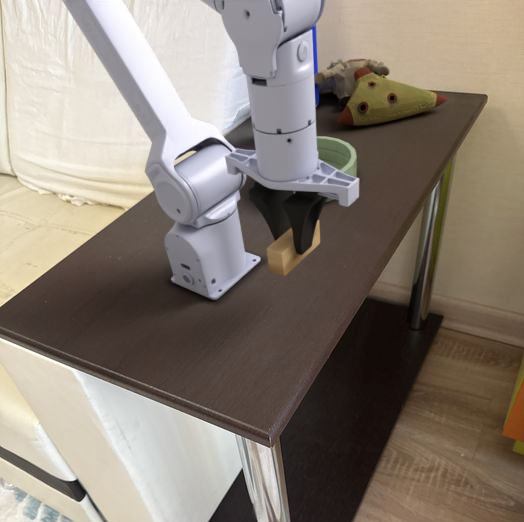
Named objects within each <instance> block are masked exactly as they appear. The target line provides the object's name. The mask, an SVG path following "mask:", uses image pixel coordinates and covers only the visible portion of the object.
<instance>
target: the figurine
mask: <svg viewBox="0 0 524 522" xmlns="http://www.w3.org/2000/svg"><path fill="white" fill-rule="evenodd" d="M363 67H365V68H368V69H369V70H370V71H372V72H373V73H375V74H376V75H378V76H382V75H384V76H386V77H387V76H389V75H390V71H391V70H390V68H389V67H388V66H387V65H385V62H384V61H379V62H378V60H376V59H375V60H374V59H370V58H368V59H367V58H352V59H348V60H346V61H343V60H342V59H341V58H339V59H338V60H337V61H331V62H330V65H329V66H327V67H326V69H325V70H321V71H318V73H316V74H315V76H314V81H315V83H316V84H318V87H319V94H321V93H324V92H325V91H331V92H332V94H333V95H336V97H337V98H338V99H339V100H338V107H339V108H340V109H342V110H344V109H345V107H346V105H347V103H348V101H349V100H350V98H351V96H352V94H353V92H354V89H355V78H354V73H355V71H356V70H357V69H360V68H363Z"/></svg>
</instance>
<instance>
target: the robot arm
mask: <svg viewBox="0 0 524 522" xmlns="http://www.w3.org/2000/svg"><path fill="white" fill-rule="evenodd" d="M61 1H62V3H63V4H64V6H65V7H66V9H67V11H68V12H69V14H70V15H71V17H72V19H73V20H74V22H75V24H76V25H77V26H78V28H79V30H80V31H81V33H82V35H83V36H84V37H85V40H87V43H88V44H89V45H90V47H91V49H92V50H93V52H94V53H95V55H96V57H97V58H98V60H99V61H100V63H101V64H102V66H103V67H104V69H105V71H106V72H107V75H108V76H109V77H110V78H111V79H110V80H112V82H113V83H114V85H115V87H116V88H117V90H118V91H119V93H120V94H121V96H122V97H123V100H124V101H125V102H126V104H127V106H128V108H130V110H131V112H132V114H133V115H134V116H135V119H136V120H137V121H138V123H139V125H140V126H141V128H142V129H143V131H144V133H145V134H146V136H147V137H148V139H149V141H150V143H151V145H150V149H149V152H148V156H147V160H146V163H145V168H144V174H145V175H146V178H147V179H148V180H149V182H150V184H151V186H152V188H153V191H154V195H155V198H156V201H157V202H158V204H159V206H160V208H161V209H162V211H163V212H164V213H165V214H166V216H168V217H169V218H170V219H172V220H173V221H175V222H174V224H173V226H172V227H171V228H170V230H169V231H168V232H167V233H166V234H165V235H164V239H163V243H164V244H163V246H164V249H165V252H166V255H167V259H168V262H169V265H170V270H171V272H172V276H171V278H170V280H171V283H173V284H176V285H178V286H180V287H182V288H185V289H187V290H190V291H191V292H195V294H196V293H197V294H199V295H201V296H203V297H206V298H208V299H210V300H213V301H216V300H218V299H219V298H221V297H222V296H223V295H224V294H225V293H226V292H228V291H229V290H230V289H231V288H232V287H233V286H234V285H235V284H237V283H238V282H239V281H240V280H241V279H242V278H243V277H244V276H245V275H246V274H248V273H249V272H250V271H252V269H254V267H255V266H257V265H258V264H259V263H260V262H261V261H262V260H261V256H258V255H255V254H252V253H250V252H247V251H246V250H245V249H246V248H245V243H244V238H243V232H242V226H241V222H240V213H239V209H238V202H239V201H240V200H241V194H240V190H241V189H242V188H243V187H244V186H245V184H246V181H247V176H248V177H250V178H252V179H253V180H254V185H253V187H251V188H250V189H249V190H248V192H247V195H248V200H249V201H250V202H252V204H253V206H255V207H256V208H257V210H258V211H259V212H260V214H261V216H262V217H263V219H264V220H265V222H266V224H267V226H268V228H269V230H270V233H271V236H272V237H273V240H274V242H275V241H276V240H277V239H278V238H279V237H281V236H282V235H283V234H284V233H285V232H286V231H288V230H289V229H290V228H292V232H293V241H294V246H295V250H296V253H297V254H299V255H303V254H304V253H305V252H306V251H307V250H308V249H309V248H310V247H311V246H312V242H313V237H314V232H315V228H316V225H317V221H318V220H319V219H320V215H321V213H322V211H323V208H324V206H325V204H326V203H327V202H326V200H327V199H328V197H329V198H333V199H334V200H336V201H338V205H339V206H342V207H345V208H346V207H347V208H349V207H350V206H351V205H352V204H353V203H354V202H356V200H357V199H359V197H360V178H359V177H353V176H350V175H347V174H345V173H343V172H341V171H339V170H338V169H336V168H334V167H332V166H330V165H329V164H327V163H325V162H323V161H322V160H320V159H318V151H317V136H318V135H317V112H316V110H317V109H316V107H315V86H314V62H313V39H312V29H311V30H309V29H310V28H312V27H313V26H314V25H315V24H316V25H317V23H319V21H320V19H321V18H322V15H323V13H324V10H325V6H326V0H200V2H202V3H203V4H205V5H206V6H208V7H209V8H210V9H212V10H214V11H215V12H216V13H218V14H219V15H220V16H221V20H222V24H223V26H224V29H225V32H226V33H227V35H228V37H229V39H230V41H232V43H233V45H234V47H235V49H236V52H237V57H238V64H239V67H240V68H241V69H242V73H243V74H244V75H245V79H246V84H247V86H246V87H247V94H248V101H249V107H250V108H249V109H250V116H251V125H252V132H253V139H254V141H253V142H254V148H255V150H254V149H243V148H238V147H234V146H233V145H232V144H231V143H230V141H229V142H228V140H227V139H226V138H225V136H224V135H223V134H222V132H221V130H220V128H219V127H218V125H216V124H214V123H211V122H207V121H204V120H201V119H198V118H195V117H194V116H192V114H191V113H190V111H189V109H188V107H187V106H186V104H185V103H184V101H183V99H182V97H181V96H180V94H179V93H178V91H177V89H176V88H175V86H174V84H173V83H172V81H171V79H170V78H169V76H168V73H166V70H165V69H164V68H163V66H162V64H161V63H160V61H159V59H158V57H157V56H156V54H155V52H154V50H153V49H152V47H151V45H150V44H149V42H148V40H147V39H146V37H145V35H144V34H143V32H142V30H141V28H140V26H139V25H138V23H137V22H136V21H135V18H134V17H133V15H132V14H131V12H130V10H129V8H128V7H127V5H126V4H125V1H124V0H61ZM308 30H309V31H308ZM306 31H307V32H306ZM190 152H194V153H192V154H191V155H189V156H187V157H186V158H184V159H182V160H181V161H179V162H177V163H176V164H175V161H176V160H178V159H180V158H181V157H184V156H185V155H186V154H188V153H190ZM294 191H295V192H296V193H295V194H294Z"/></svg>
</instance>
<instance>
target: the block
mask: <svg viewBox="0 0 524 522" xmlns="http://www.w3.org/2000/svg"><path fill="white" fill-rule="evenodd" d="M319 245H321V229H320V219H318V221H317V225H316V228H315V232H314V237H313V242H312V246H311V247H310V248H309V249H308V250H307V251H306V252H305V253H304V254H303V255H299V254H297V253H296V250H295V246H294V241H293V232H292V228H290V229H289V230H288V231H286V232H285V233H284V234H283V235H282V236H281V237H279V238H278V239H277V240H276V241H275V240H274V241H273V242H272V243H271V244H269V246H268V247H266V255H267V263H268V270H269V272H270V273H273V274H275V275H278V276H281V277H283V278H285V277H286V276H287V275H288V274H289V273H290V272H291V271H292V270H293V269H295V267H297V265H299V264H300V263H301V262H302V260H304V259H305V258H306V257H308V255H309V254H310V253H311V252H313V250H315V249H316V248H317V247H318V246H319Z"/></svg>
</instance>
